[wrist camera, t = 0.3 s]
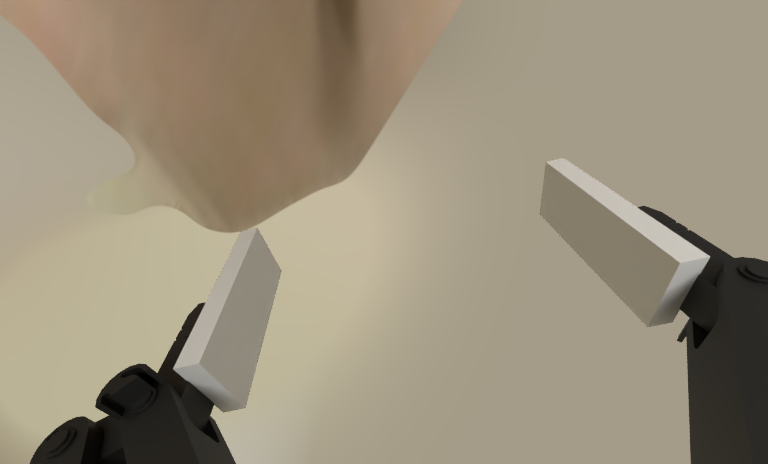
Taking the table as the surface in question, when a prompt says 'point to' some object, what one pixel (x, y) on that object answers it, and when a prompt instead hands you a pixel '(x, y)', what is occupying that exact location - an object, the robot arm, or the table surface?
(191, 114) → the table surface
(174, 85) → the table surface
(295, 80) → the table surface
